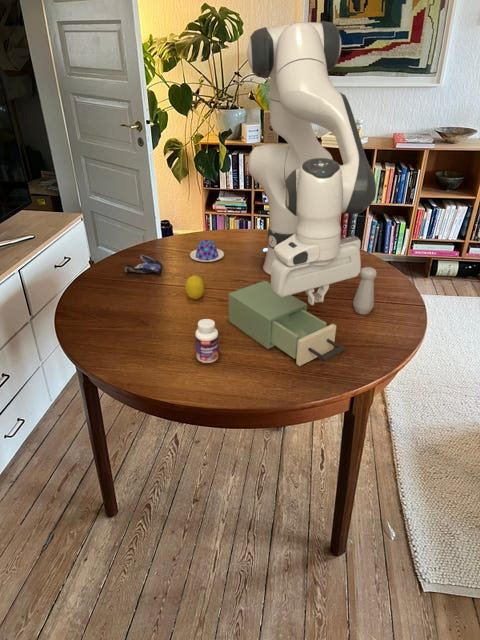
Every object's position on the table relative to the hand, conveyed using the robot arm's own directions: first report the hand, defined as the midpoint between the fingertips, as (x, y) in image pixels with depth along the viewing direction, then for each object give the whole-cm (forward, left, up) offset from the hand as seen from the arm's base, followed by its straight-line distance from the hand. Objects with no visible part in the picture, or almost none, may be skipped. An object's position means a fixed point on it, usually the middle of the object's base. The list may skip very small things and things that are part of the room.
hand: (315, 302), depth 101 cm
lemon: (+5, -43, -17) cm, 46 cm away
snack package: (+8, -69, -17) cm, 71 cm away
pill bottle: (+18, -17, -17) cm, 30 cm away
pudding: (-15, -67, -17) cm, 71 cm away
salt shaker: (-29, -9, -17) cm, 35 cm away
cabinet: (-2, -19, -17) cm, 25 cm away
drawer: (-2, -5, -16) cm, 17 cm away
